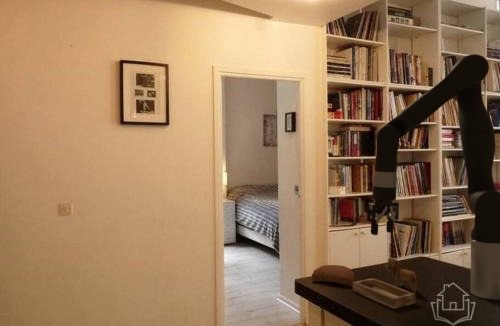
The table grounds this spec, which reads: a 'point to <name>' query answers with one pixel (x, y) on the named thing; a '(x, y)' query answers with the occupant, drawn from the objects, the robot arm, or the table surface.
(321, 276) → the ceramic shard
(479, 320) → the table surface
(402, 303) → the rectangular tray
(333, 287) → the table surface
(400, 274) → the lion figurine
